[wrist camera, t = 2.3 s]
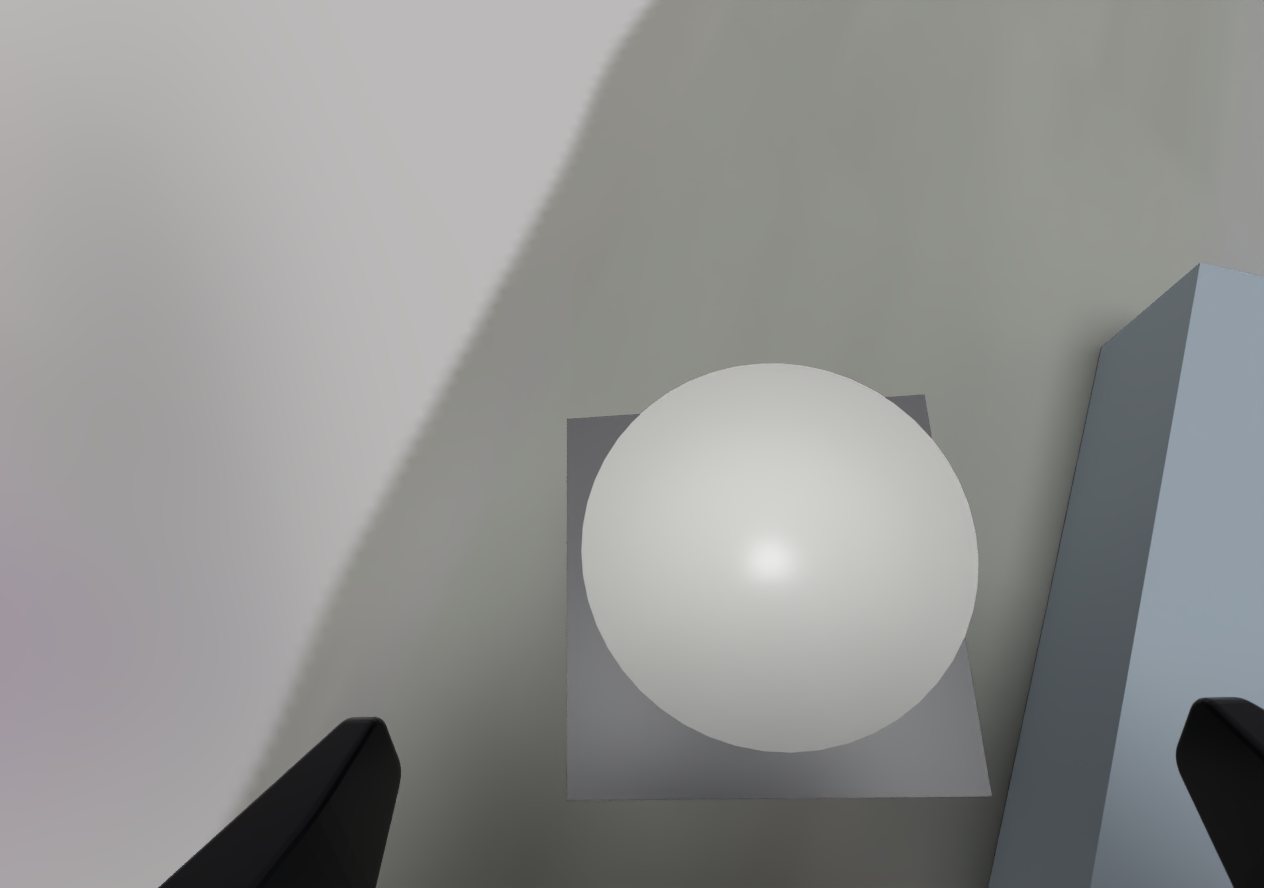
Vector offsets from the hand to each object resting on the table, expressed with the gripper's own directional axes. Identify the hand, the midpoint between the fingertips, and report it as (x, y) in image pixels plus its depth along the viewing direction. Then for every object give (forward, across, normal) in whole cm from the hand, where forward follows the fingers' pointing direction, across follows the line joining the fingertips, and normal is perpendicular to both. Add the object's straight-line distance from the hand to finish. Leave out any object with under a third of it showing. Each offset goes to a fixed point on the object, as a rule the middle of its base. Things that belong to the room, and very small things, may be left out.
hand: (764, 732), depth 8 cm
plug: (+8, 0, +6) cm, 9 cm away
